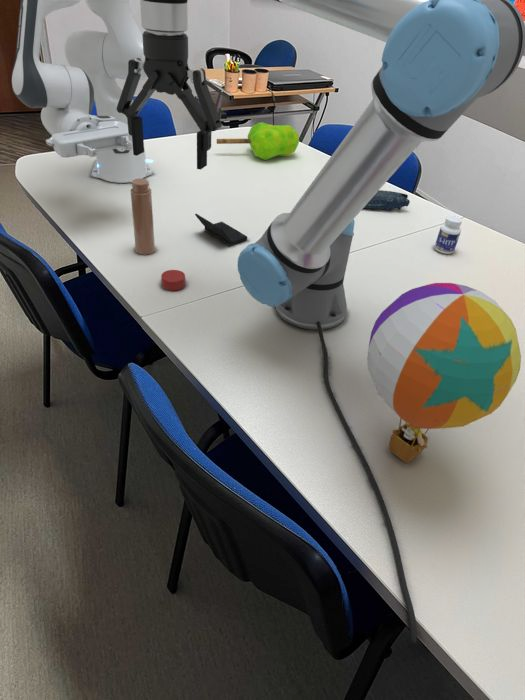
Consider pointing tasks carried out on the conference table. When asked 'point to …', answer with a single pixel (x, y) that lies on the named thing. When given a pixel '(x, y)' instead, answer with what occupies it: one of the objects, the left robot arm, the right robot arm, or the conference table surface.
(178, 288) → the lid
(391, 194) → the fish model
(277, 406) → the conference table surface
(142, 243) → the jar
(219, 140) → the decorative tree
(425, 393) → the toy
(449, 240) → the pill bottle
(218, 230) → the handheld gaming console
